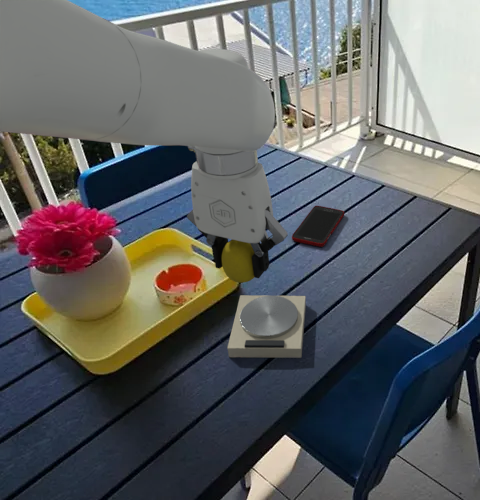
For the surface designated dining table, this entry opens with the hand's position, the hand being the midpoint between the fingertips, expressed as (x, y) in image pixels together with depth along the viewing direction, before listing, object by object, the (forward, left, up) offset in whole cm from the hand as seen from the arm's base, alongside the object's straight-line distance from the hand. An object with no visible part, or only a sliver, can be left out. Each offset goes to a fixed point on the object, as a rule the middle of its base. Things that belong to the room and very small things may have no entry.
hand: (242, 266), depth 73 cm
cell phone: (+38, +3, -18) cm, 42 cm away
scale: (+5, -1, -18) cm, 19 cm away
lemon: (0, 0, -3) cm, 3 cm away
